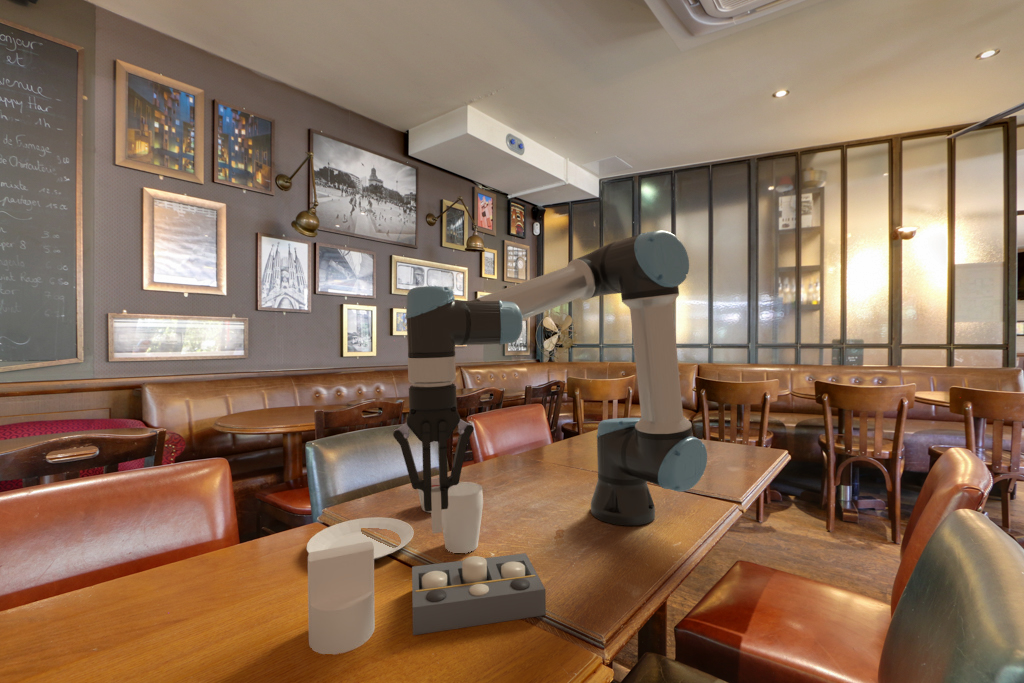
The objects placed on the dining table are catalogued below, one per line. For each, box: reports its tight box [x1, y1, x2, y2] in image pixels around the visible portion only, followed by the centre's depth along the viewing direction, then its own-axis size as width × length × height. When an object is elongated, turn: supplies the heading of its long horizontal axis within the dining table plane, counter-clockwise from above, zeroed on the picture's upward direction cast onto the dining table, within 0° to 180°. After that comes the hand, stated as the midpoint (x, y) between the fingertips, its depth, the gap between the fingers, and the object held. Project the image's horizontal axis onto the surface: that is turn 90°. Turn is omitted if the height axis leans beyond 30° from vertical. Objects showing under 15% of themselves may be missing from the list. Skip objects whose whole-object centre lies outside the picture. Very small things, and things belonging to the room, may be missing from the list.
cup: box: [441, 481, 484, 554], centre depth 92 cm, size 9×9×12 cm
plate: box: [306, 516, 415, 561], centre depth 93 cm, size 21×21×2 cm
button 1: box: [501, 562, 525, 579], centre depth 75 cm, size 4×4×4 cm
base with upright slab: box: [307, 541, 376, 655], centre depth 65 cm, size 9×9×12 cm
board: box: [411, 552, 547, 636], centre depth 73 cm, size 20×12×4 cm, turn 103°
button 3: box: [422, 571, 447, 589], centre depth 72 cm, size 4×4×4 cm
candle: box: [417, 477, 440, 513], centre depth 114 cm, size 9×9×6 cm
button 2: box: [462, 555, 487, 584], centre depth 74 cm, size 4×4×4 cm
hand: (436, 529), depth 72 cm, fingers closed
